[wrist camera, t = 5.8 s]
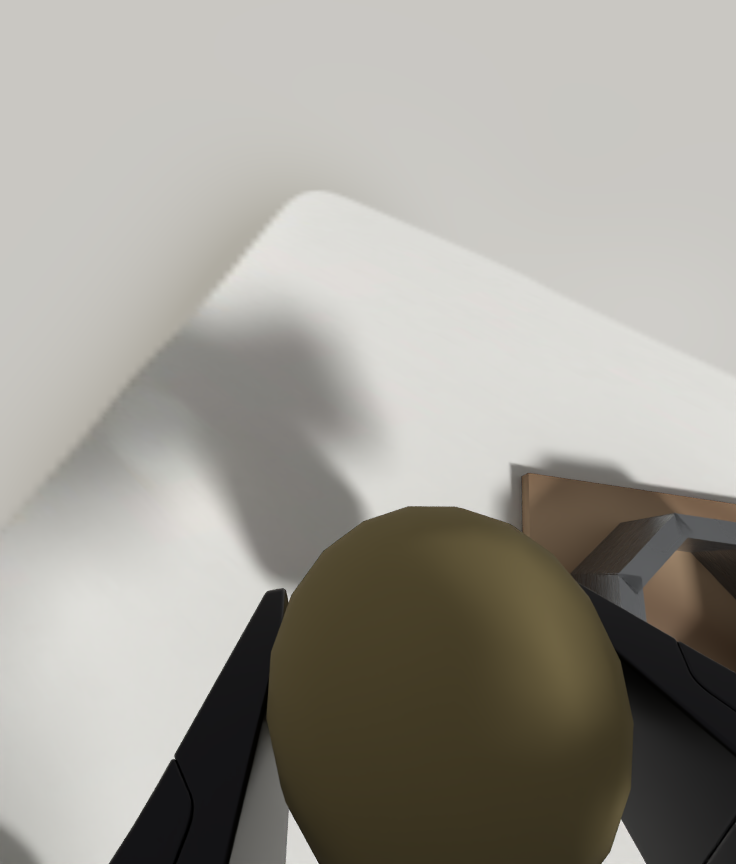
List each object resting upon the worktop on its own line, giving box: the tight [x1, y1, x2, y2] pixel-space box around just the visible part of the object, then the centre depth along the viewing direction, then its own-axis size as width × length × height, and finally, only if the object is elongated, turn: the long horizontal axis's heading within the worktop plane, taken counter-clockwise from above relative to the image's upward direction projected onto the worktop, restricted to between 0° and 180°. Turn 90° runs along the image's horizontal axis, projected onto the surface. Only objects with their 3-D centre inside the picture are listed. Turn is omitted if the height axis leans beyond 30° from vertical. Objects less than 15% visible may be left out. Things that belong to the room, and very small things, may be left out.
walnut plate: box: [522, 473, 736, 673], centre depth 19 cm, size 14×14×1 cm
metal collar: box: [570, 513, 736, 622], centre depth 17 cm, size 10×10×4 cm
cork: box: [266, 506, 634, 864], centre depth 10 cm, size 6×6×11 cm
